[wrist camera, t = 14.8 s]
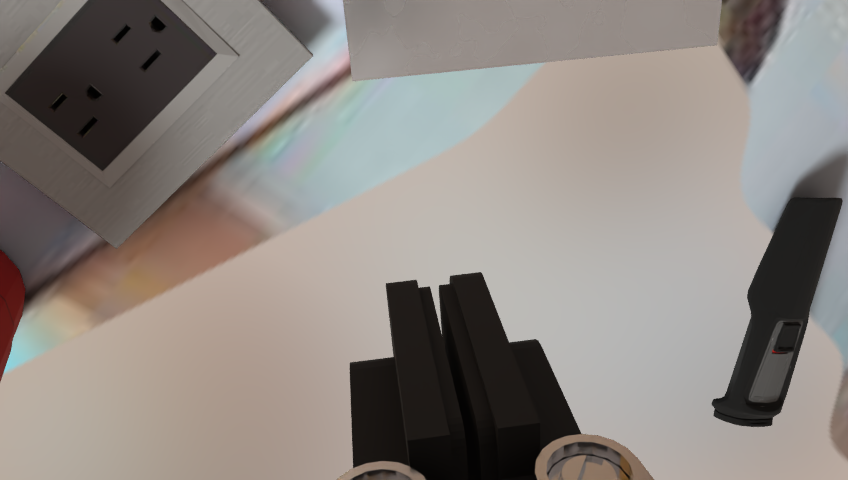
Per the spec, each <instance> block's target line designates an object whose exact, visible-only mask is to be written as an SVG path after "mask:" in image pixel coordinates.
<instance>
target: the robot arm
mask: <svg viewBox="0 0 848 480" xmlns="http://www.w3.org/2000/svg"><path fill="white" fill-rule="evenodd" d="M386 291H387V300H388V309H389V318H390V327H391V336H392V346H393V354H394V357H391V358H383V359H375V360H368V361H359V362H352V363H350V388H351V417H352V444H353V469H351V470H349V471H348V472H346V473H345V474H344V475H342V476H340V477H339V478H338V479H337V480H654V479H653V477H652V476H651V475H650V474H649V472H648V471H647V470H646V468H645V467H644V466H643V464H642V463H641V462H640V461H639V459H638V458H637V457H636V456H635V455H634V454H633V453H632V452H631V451H630V450H629V449H628V448H626V447H625V446H623V445H621V444H619V443H617V442H616V441H614V440H611V439H607V438H604V437H601V436H598V435H586V434H581V432H580V430H579V428H578V425H577V423H576V421H575V419H574V417H573V414H572V412H571V410H570V408H569V406H568V403H567V401H566V399H565V397H564V395H563V393H562V390H561V388H560V386H559V384H558V382H557V379H556V377H555V375H554V373H553V371H552V368H551V366H550V364H549V362H548V360H547V357H546V356H545V353H544V351H543V349H542V347H541V345H540V343H539V341H538V340H536V339H534V340H526V341H518V342H510V343H509V341H508V339H507V336H506V334H505V331H504V329H503V326H502V323H501V321H500V318H499V316H498V313H497V311H496V308H495V305H494V303H493V300H492V298H491V295H490V292H489V290H488V287H487V285H486V282H485V280H484V277H483V275H482V273H481V272H479V273H471V274H462V275H454V276H450V284H448V285H439V298H440V311H441V326H442V334H441V330H440V326H439V322H438V318H437V314H436V310H435V306H434V301H433V297H432V293H431V289H430V287H422V288H418V284H417V281H416V280H411V281H403V282H395V283H386Z"/></svg>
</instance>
